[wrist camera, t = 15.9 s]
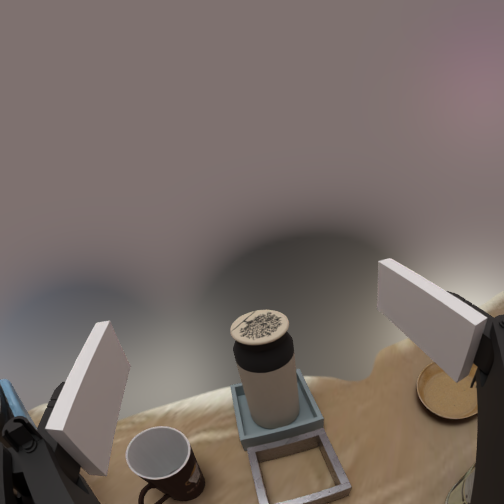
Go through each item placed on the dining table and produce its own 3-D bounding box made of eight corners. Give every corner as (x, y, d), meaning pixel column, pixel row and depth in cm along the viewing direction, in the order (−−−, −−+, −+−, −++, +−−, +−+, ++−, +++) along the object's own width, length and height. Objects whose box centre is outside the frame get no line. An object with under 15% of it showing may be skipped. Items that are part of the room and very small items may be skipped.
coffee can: (460, 465, 22) (502, 405, 17) (513, 476, 14) (565, 416, 10) (429, 525, 15) (478, 485, 11) (489, 537, 8) (554, 494, 3)
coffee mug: (184, 453, 35) (160, 416, 32) (224, 480, 30) (205, 448, 27) (132, 493, 27) (97, 462, 24) (169, 528, 22) (134, 505, 19)
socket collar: (265, 519, 23) (261, 513, 22) (250, 458, 34) (246, 447, 32) (348, 495, 24) (351, 487, 23) (322, 439, 35) (323, 427, 34)
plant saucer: (458, 357, 42) (461, 347, 41) (500, 401, 28) (506, 391, 27) (399, 384, 41) (402, 374, 40) (439, 442, 27) (444, 433, 27)
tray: (244, 450, 35) (240, 440, 34) (234, 397, 47) (230, 385, 46) (323, 430, 37) (323, 418, 36) (300, 381, 48) (299, 368, 47)
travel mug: (309, 405, 41) (303, 317, 35) (278, 437, 36) (261, 352, 30) (272, 388, 47) (257, 303, 41) (241, 415, 42) (215, 330, 36)
